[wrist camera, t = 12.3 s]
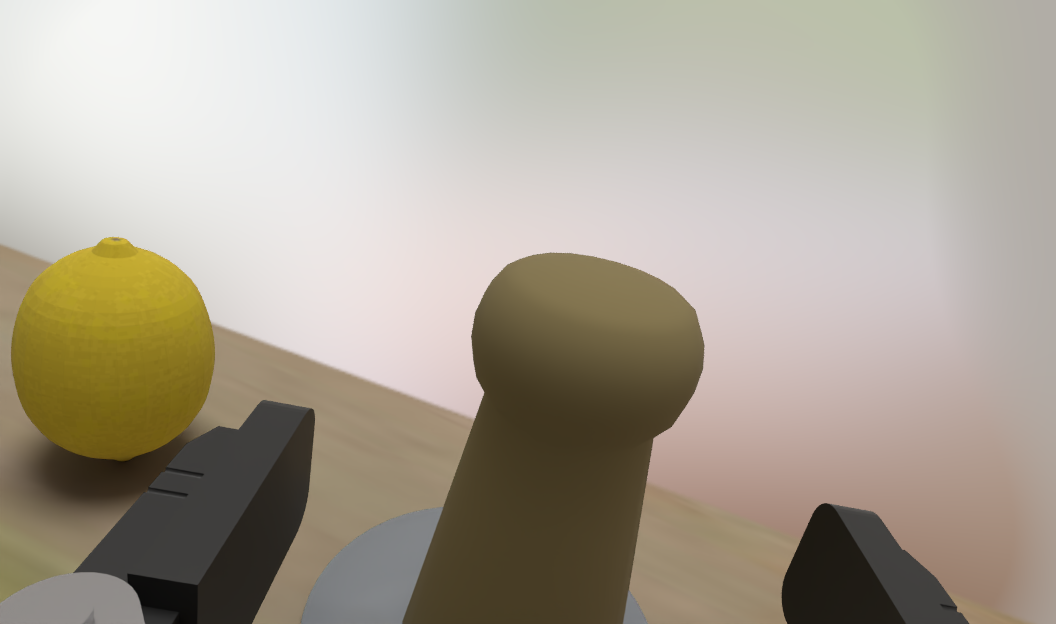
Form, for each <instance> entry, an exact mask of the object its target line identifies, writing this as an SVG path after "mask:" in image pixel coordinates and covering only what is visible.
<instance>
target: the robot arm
mask: <svg viewBox="0 0 1056 624" xmlns="http://www.w3.org/2000/svg"><path fill="white" fill-rule="evenodd" d="M314 425H315V414H314V410H313V409H311V408H306V407H300V406H295V405H289V404H284V403H278V402H273V401H267V400H263V401H261V402H260V403H259V404H258V405H257V407H256V408H255V409H254V411H253V412H252V413H251V414H250V416H249V417H248V418H247V420H246V421H245V422H244V423H243V425H242V426H241V427H240V429H239V430H237V429H231V428H226V427H220V426H218V427H216V428H214V429H212V430H211V431H209V432H207V433H205V434H203V435H201V436H200V437H198V438H196V439H194V440H192V441H191V442H189V443H187V444H186V445H185V446H184V447H183V448H182V450H181V451H180V452H179V453H178V454H177V455H176V456H175V458H174V459H173V460H172V461H171V462H170V463H169V464H168V466H167V467H166V470H165V472H161V474H160V475H159V476H158V477H157V478H156V479H155V480H154V481H153V483H152V484H151V485H150V486H149V488H148V491H147V493H146V492H144V493H143V494H142V495H141V496H140V497H139V499H138V500H137V501H136V502H135V503H134V504H133V505H132V507H131V508H130V509H129V510H128V511H127V512H126V513H125V515H124V516H123V517H122V518H121V519H120V520H119V521H118V523H117V524H116V525H115V526H114V527H113V528H112V529H111V531H110V532H109V533H108V534H107V535H106V536H105V537H104V539H103V540H102V541H101V542H100V543H99V544H98V545H97V546H96V548H95V549H94V550H93V551H92V552H91V553H90V554H89V556H88V557H87V558H86V559H85V560H84V561H83V562H82V564H81V565H80V566H79V567H78V568H77V569H76V570H75V572H74V573H70V574H64V575H60V576H55V577H52V578H48V579H45V580H42V581H39V582H37V583H35V584H32V585H30V586H27V587H26V588H24V589H22V590H20V591H18V592H16V593H14V594H13V595H11V596H10V597H8V598H7V599H5V600H4V601H2V602H1V603H0V624H252V622H253V620H254V618H255V616H256V614H257V612H258V610H259V608H260V606H261V604H262V602H263V600H264V598H265V596H266V594H267V592H268V590H269V588H270V586H271V584H272V582H273V580H274V578H275V576H276V574H277V572H278V570H279V568H280V566H281V564H282V562H283V560H284V558H285V556H286V554H287V552H288V550H289V548H290V546H291V544H292V542H293V540H294V538H295V536H296V534H297V532H298V529H299V527H300V524H301V521H302V518H303V515H304V511H305V507H306V503H307V498H308V492H309V482H310V471H311V459H312V448H313V437H314ZM782 607H783V612H784V616H785V619H786V622H787V624H969V623H968V621H967V620H966V619H965V617H964V616H963V614H962V613H959V612H957V606H956V605H955V603H954V602H953V601H952V599H951V598H950V596H949V595H948V594H947V592H946V591H945V590H944V588H943V587H942V586H941V584H940V583H939V581H938V580H937V579H936V577H934V575H932V574H931V573H930V572H929V571H928V570H927V569H926V568H924V567H923V566H922V565H921V564H920V563H919V562H918V561H916V560H915V559H914V558H913V557H912V556H911V555H910V554H909V553H908V552H906V551H905V550H902V549H901V547H900V546H899V545H898V543H897V542H896V541H895V539H894V537H893V536H892V535H891V533H890V532H889V530H888V529H887V527H886V526H885V525H884V523H883V522H882V520H881V519H880V518H879V517H878V515H877V514H875V513H874V512H871V511H866V510H860V509H855V508H849V507H843V506H839V505H832V504H827V503H824V504H821V505H819V506H818V507H817V508H816V510H815V511H814V513H813V515H812V517H811V519H810V522H809V523H808V526H807V528H806V530H805V532H804V534H803V537H802V539H801V541H800V543H799V546H798V548H797V550H796V552H795V554H794V557H793V559H792V561H791V563H790V566H789V568H788V570H787V572H786V575H785V577H784V581H783V586H782Z"/></svg>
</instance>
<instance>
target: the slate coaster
mask: <svg viewBox="0 0 1056 624" xmlns="http://www.w3.org/2000/svg"><path fill="white" fill-rule="evenodd" d="M442 510H443V507H440V508H432V509H425V510H420V511H416V512H412V513H408V514H404V515H402V516H399V517H396V518H393V519H390V520H388V521H386V522H383V523H381V524H379V525H377V526H375V527H373V528H371V529H370V530H368V531H366V532H365V533H363V534H362V535H360V536H358V537H357V538H355V539H354V540H353V541H352V542H351V543H349V544H348V545H347V546H346V547H344V548H343V549H342V550H341V551H340V552H339V553H338V554H337V555H336V556H335V557H334V558H333V559H332V560H331V561H330V563H329V564H328V565H327V567H326V568H325V569H324V571H323V572H322V574H321V575H320V576H319V578H318V579H317V581H316V583H315V585H314V587H313V589H312V591H311V593H310V595H309V597H308V600H307V603H306V606H305V609H304V612H303V615H302V621H301V624H402V621H403V618H404V615H405V613H406V610H407V607H408V604H409V602H410V599H411V596H412V593H413V590H414V588H415V585H416V582H417V579H418V576H419V574H420V571H421V568H422V565H423V563H424V560H425V557H426V554H427V551H428V549H429V546H430V543H431V540H432V538H433V535H434V532H435V529H436V526H437V524H438V521H439V518H440V515H441V512H442ZM623 624H648V623H647V621H646V618H645V616H644V614H643V612H642V611H641V609H640V607H639V605H638V603H637V601H636V600H635V598H634V597H633V595H632V594H631V592H630V591H629V590H628V597H627V603H626V609H625V615H624V621H623Z"/></svg>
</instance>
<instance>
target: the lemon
mask: <svg viewBox="0 0 1056 624" xmlns="http://www.w3.org/2000/svg"><path fill="white" fill-rule="evenodd" d="M214 361H215V345H214V337H213V331H212V326H211V322H210V319H209V315H208V312H207V309H206V307H205V304H204V301H203V299H202V296H201V295H200V292H199V291H198V289H197V287H196V286H195V284H194V283H193V282H192V280H191V279H190V278H189V277H188V276H187V275H186V274H185V273H184V272H183V271H182V270H180V269H179V268H178V267H177V266H176V265H174V264H173V263H172V262H170V261H169V260H167V259H165V258H163V257H161V256H159V255H157V254H155V253H153V252H151V251H148V250H144V249H141V248H137V247H134V246H133V245H132V244H131V243H130V242H129V241H128V240H126V239H124V238H119V237H109V238H104V239H102V240H101V241H100V242H99V243H98V244H97V245H96V246H94V247H90V248H86V249H83V250H79V251H76V252H74V253H72V254H70V255H68V256H66V257H64V258H62V259H60V260H58V261H57V262H56V263H54V264H53V265H51V266H50V267H49V268H47V269H46V270H45V271H44V272H42V273H41V274H40V275H39V276H38V277H37V278H36V279H35V280H34V282H33V283H32V285H31V286H30V287H29V289H28V291H27V293H26V295H25V297H24V299H23V302H22V304H21V306H20V308H19V311H18V314H17V317H16V321H15V326H14V330H13V337H12V346H11V362H12V370H13V376H14V381H15V385H16V389H17V393H18V397H19V399H20V402H21V404H22V407H23V409H24V410H25V412H26V414H27V416H28V417H29V419H30V420H31V421H32V422H33V424H34V425H35V426H36V427H37V428H38V429H39V430H40V431H41V433H42V434H43V435H45V436H46V437H47V438H48V439H49V440H50V441H52V442H53V443H55V444H57V445H58V446H60V447H62V448H64V449H66V450H68V451H70V452H73V453H75V454H78V455H82V456H86V457H90V458H100V459H114V460H116V461H127V460H130V459H132V458H133V457H135V456H138V455H141V454H144V453H148V452H151V451H153V450H155V449H157V448H160V447H162V446H164V445H165V444H167V443H168V442H170V441H171V440H173V439H174V438H175V437H177V436H178V435H179V434H181V433H182V432H183V431H184V430H185V429H186V428H187V427H188V426H189V425H190V423H191V422H192V421H193V419H194V418H195V417H196V415H197V414H198V413H199V411H200V410H201V408H202V406H203V404H204V402H205V400H206V398H207V395H208V392H209V388H210V384H211V379H212V375H213V369H214Z"/></svg>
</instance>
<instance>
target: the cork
mask: <svg viewBox="0 0 1056 624" xmlns="http://www.w3.org/2000/svg"><path fill="white" fill-rule="evenodd" d="M471 338H472V349H473V360H474V366H475V372H476V377H477V379H478V381H479V383H480V384H481V387H482V389H483V390H484V392H485V393H484V396H483V398H482V401H481V404H480V407H479V410H478V413H477V415H476V418H475V421H474V423H473V426H472V429H471V432H470V435H469V437H468V440H467V443H466V446H465V448H464V451H463V454H462V457H461V460H460V462H459V465H458V468H457V471H456V474H455V476H454V479H453V482H452V485H451V487H450V490H449V493H448V496H447V499H446V501H445V504H444V507H443V510H442V512H441V515H440V518H439V521H438V524H437V526H436V529H435V532H434V535H433V538H432V540H431V543H430V546H429V549H428V551H427V554H426V557H425V560H424V563H423V565H422V568H421V571H420V574H419V576H418V579H417V582H416V585H415V588H414V590H413V593H412V596H411V599H410V602H409V604H408V607H407V610H406V613H405V615H404V618H403V621H402V624H623V621H624V615H625V609H626V603H627V597H628V590H629V584H630V578H631V572H632V566H633V560H634V554H635V548H636V542H637V536H638V530H639V523H640V517H641V511H642V505H643V499H644V493H645V487H646V481H647V475H648V469H649V462H650V456H651V450H652V444H653V438H654V437H656V436H657V435H659V434H661V433H662V432H664V431H666V430H667V429H669V428H670V427H672V425H673V424H674V422H675V421H676V420H677V418H678V417H679V415H680V414H681V412H682V411H683V410H684V408H685V407H686V405H687V404H688V402H689V400H690V399H691V397H692V395H693V394H694V392H695V390H696V387H697V384H698V381H699V378H700V376H701V373H702V370H703V359H704V341H703V337H702V333H701V329H700V326H699V322H698V318H697V314H696V311H695V309H694V308H693V307H692V306H691V305H690V304H689V303H688V302H687V301H686V300H685V299H684V298H683V297H682V296H681V295H680V294H679V293H678V292H677V291H676V290H675V289H674V288H673V287H671V286H669V285H668V284H666V283H665V282H663V281H662V280H660V279H658V278H656V277H654V276H652V275H650V274H648V273H645V272H643V271H641V270H638V269H636V268H633V267H630V266H627V265H623V264H621V263H617V262H614V261H609V260H606V259H601V258H597V257H593V256H586V255H578V254H571V253H545V254H537V255H532V256H528V257H525V258H522V259H519V260H517V261H515V262H512V263H510V264H508V265H507V266H506V267H505V268H504V269H503V270H502V271H501V272H500V273H499V274H498V275H497V276H496V277H495V278H494V279H493V280H492V282H491V283H490V285H489V286H488V288H487V290H486V292H485V293H484V295H483V298H482V300H481V302H480V304H479V306H478V308H477V310H476V312H475V318H474V324H473V330H472V336H471Z"/></svg>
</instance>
